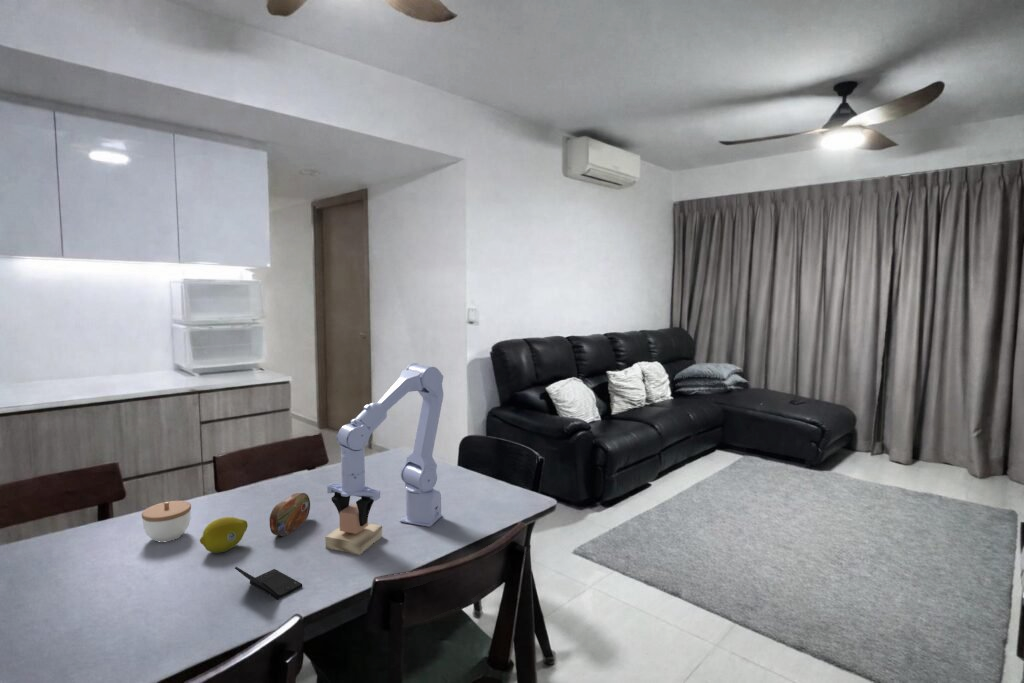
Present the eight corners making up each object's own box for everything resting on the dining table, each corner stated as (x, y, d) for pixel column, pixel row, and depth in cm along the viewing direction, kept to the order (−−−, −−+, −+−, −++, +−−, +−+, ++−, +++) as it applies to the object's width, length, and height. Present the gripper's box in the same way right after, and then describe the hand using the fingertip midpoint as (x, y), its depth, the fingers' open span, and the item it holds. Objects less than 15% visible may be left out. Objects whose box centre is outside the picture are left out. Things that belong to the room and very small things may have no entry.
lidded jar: (201, 532, 140) (199, 498, 139) (160, 550, 131) (158, 514, 130) (175, 524, 145) (173, 491, 144) (134, 541, 135) (131, 506, 134)
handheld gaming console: (309, 575, 118) (282, 553, 112) (291, 608, 113) (262, 587, 107) (273, 570, 123) (245, 548, 117) (255, 601, 118) (224, 581, 112)
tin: (278, 541, 136) (277, 510, 135) (267, 540, 137) (266, 509, 136) (311, 517, 151) (310, 488, 150) (301, 516, 151) (300, 487, 151)
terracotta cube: (368, 525, 137) (367, 507, 137) (356, 533, 133) (356, 514, 132) (351, 522, 139) (351, 504, 138) (339, 530, 134) (339, 512, 134)
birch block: (381, 536, 139) (381, 525, 139) (359, 554, 130) (359, 543, 130) (349, 530, 143) (349, 520, 142) (325, 547, 133) (325, 536, 133)
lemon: (203, 562, 125) (201, 530, 125) (197, 550, 131) (195, 519, 130) (252, 548, 132) (251, 518, 132) (244, 537, 138) (243, 507, 137)
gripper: (318, 473, 133) (320, 524, 134) (368, 480, 128) (369, 534, 130) (336, 464, 139) (337, 513, 141) (384, 471, 135) (385, 522, 136)
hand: (354, 522), depth 136 cm, fingers closed on terracotta cube, 5 cm apart
